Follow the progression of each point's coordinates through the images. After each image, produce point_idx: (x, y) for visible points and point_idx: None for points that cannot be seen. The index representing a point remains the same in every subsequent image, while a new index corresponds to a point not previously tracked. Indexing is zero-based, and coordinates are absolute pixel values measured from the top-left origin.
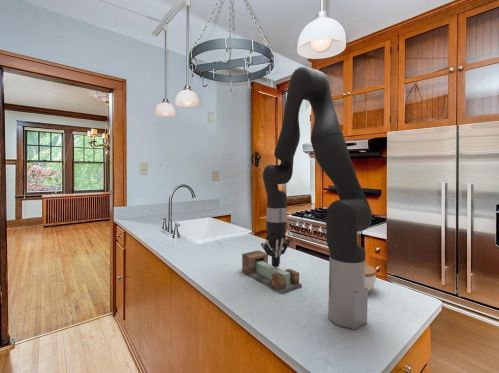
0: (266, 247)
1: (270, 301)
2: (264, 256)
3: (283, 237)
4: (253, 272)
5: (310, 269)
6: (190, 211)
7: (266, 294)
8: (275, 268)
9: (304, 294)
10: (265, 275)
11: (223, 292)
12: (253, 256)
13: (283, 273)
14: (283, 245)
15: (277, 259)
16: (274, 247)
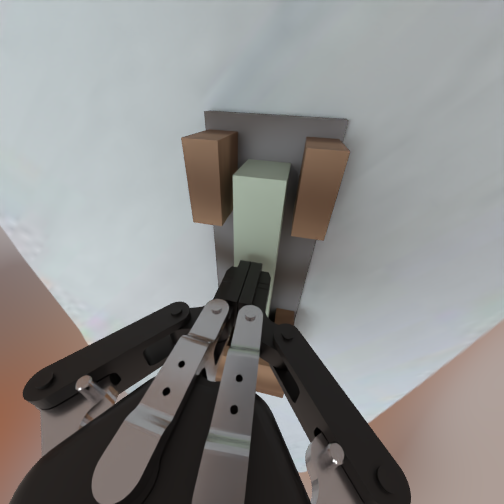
0: (381, 456)
1: (478, 101)
2: None
3: (70, 487)
4: (283, 312)
5: (75, 210)
6: None
7: (400, 177)
8: None
9: (262, 19)
10: (274, 275)
11: (478, 299)
12: (271, 370)
13: (271, 198)
14: (132, 365)
15: (244, 291)
16: (254, 397)
